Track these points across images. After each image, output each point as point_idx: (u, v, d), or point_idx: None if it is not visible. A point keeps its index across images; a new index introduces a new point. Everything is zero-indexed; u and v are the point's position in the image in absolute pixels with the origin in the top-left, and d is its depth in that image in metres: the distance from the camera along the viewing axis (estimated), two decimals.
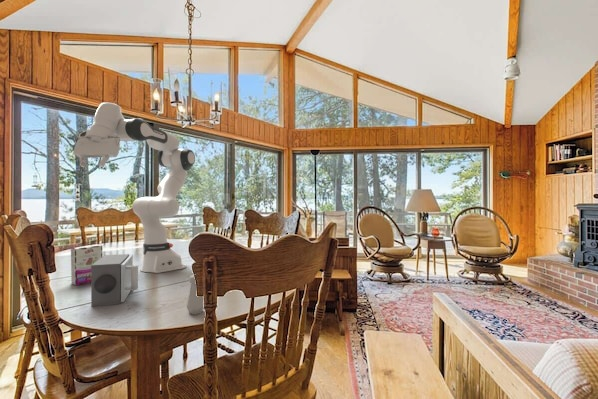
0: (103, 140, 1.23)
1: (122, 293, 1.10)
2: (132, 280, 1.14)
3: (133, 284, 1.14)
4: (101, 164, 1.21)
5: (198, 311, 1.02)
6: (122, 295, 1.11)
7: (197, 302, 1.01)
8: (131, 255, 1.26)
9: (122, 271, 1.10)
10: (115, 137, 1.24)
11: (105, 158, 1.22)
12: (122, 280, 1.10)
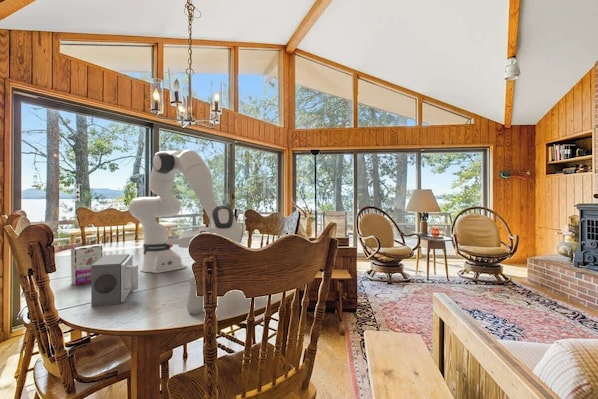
0: None
1: (122, 293, 1.10)
2: (132, 280, 1.14)
3: (133, 284, 1.14)
4: None
5: (198, 311, 1.02)
6: (122, 295, 1.11)
7: (197, 302, 1.01)
8: (131, 255, 1.26)
9: (122, 271, 1.10)
10: None
11: None
12: (122, 280, 1.10)
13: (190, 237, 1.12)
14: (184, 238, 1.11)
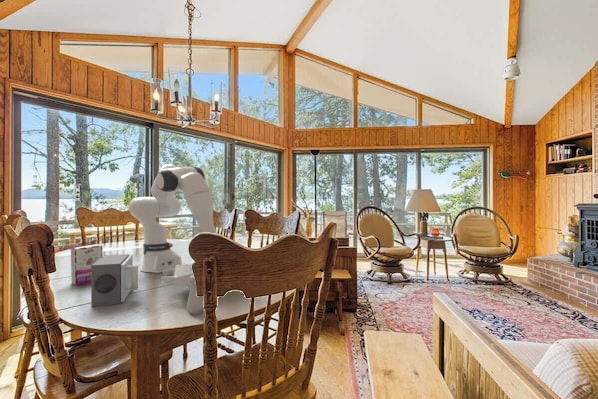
0: None
1: (122, 293, 1.10)
2: (132, 280, 1.14)
3: (133, 284, 1.14)
4: None
5: (198, 311, 1.02)
6: (122, 295, 1.11)
7: (197, 302, 1.01)
8: (131, 255, 1.26)
9: (122, 271, 1.10)
10: None
11: None
12: (122, 280, 1.10)
13: (185, 276, 1.12)
14: (179, 277, 1.11)
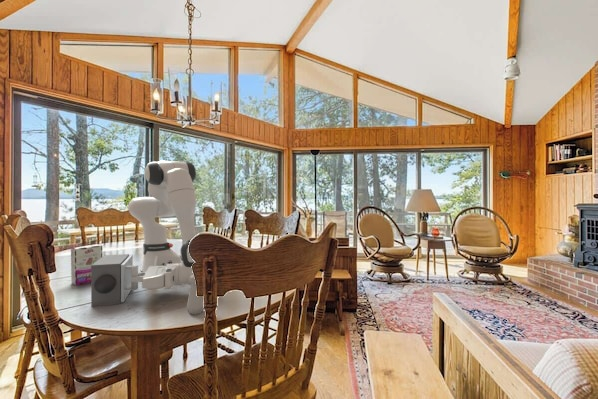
0: None
1: (122, 293, 1.10)
2: None
3: (133, 284, 1.14)
4: None
5: (198, 311, 1.02)
6: (122, 295, 1.11)
7: (197, 302, 1.01)
8: (131, 255, 1.26)
9: (122, 271, 1.10)
10: None
11: None
12: (122, 280, 1.10)
13: (155, 277, 1.09)
14: (148, 279, 1.08)
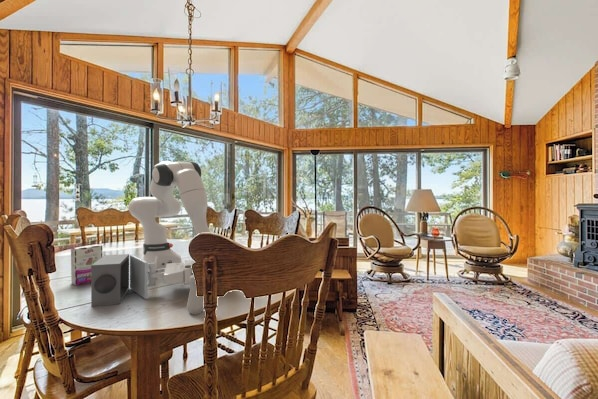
0: None
1: (146, 289, 1.15)
2: (151, 277, 1.19)
3: (152, 280, 1.19)
4: None
5: (198, 311, 1.02)
6: (146, 292, 1.15)
7: (197, 302, 1.01)
8: (132, 255, 1.27)
9: (146, 268, 1.15)
10: None
11: None
12: (146, 277, 1.15)
13: (175, 273, 1.14)
14: (169, 274, 1.13)
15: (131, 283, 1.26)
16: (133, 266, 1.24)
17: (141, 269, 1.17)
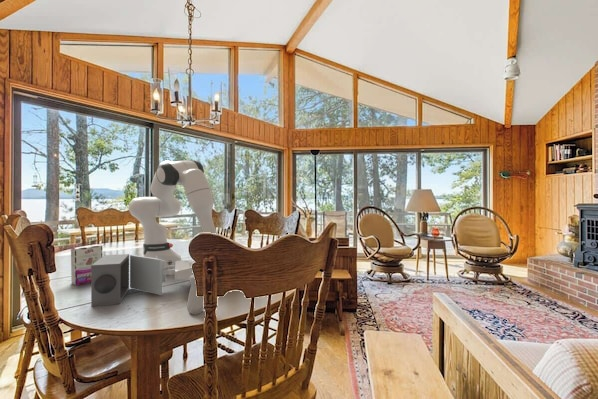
0: None
1: (160, 286, 1.20)
2: (162, 273, 1.23)
3: (163, 277, 1.24)
4: None
5: (198, 311, 1.02)
6: (161, 288, 1.20)
7: (197, 302, 1.01)
8: (133, 255, 1.27)
9: (161, 265, 1.20)
10: None
11: None
12: (160, 274, 1.20)
13: (186, 270, 1.19)
14: (180, 271, 1.18)
15: (133, 283, 1.26)
16: (137, 265, 1.25)
17: (153, 267, 1.21)
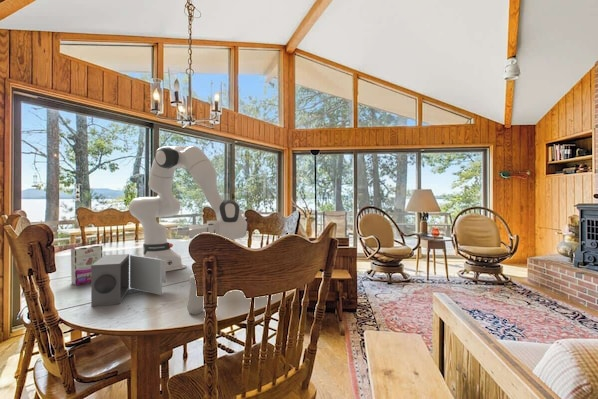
0: None
1: (161, 286, 1.20)
2: (162, 273, 1.23)
3: (163, 277, 1.24)
4: None
5: (198, 311, 1.02)
6: (161, 288, 1.20)
7: (197, 302, 1.01)
8: (133, 255, 1.27)
9: (161, 265, 1.20)
10: None
11: None
12: (161, 274, 1.20)
13: (200, 229, 1.21)
14: (194, 230, 1.20)
15: (133, 283, 1.26)
16: (137, 265, 1.25)
17: (153, 267, 1.21)
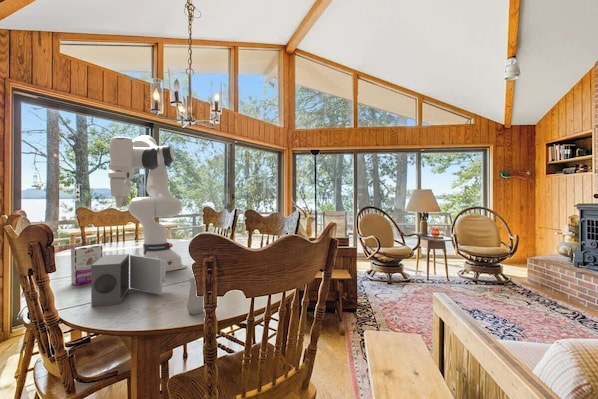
0: None
1: (161, 286, 1.20)
2: (162, 273, 1.23)
3: (163, 277, 1.24)
4: None
5: (198, 311, 1.02)
6: (161, 288, 1.20)
7: (197, 302, 1.01)
8: (133, 255, 1.27)
9: (161, 265, 1.20)
10: None
11: None
12: (161, 274, 1.20)
13: (111, 185, 1.16)
14: (111, 190, 1.16)
15: (133, 283, 1.26)
16: (137, 265, 1.25)
17: (153, 267, 1.21)
